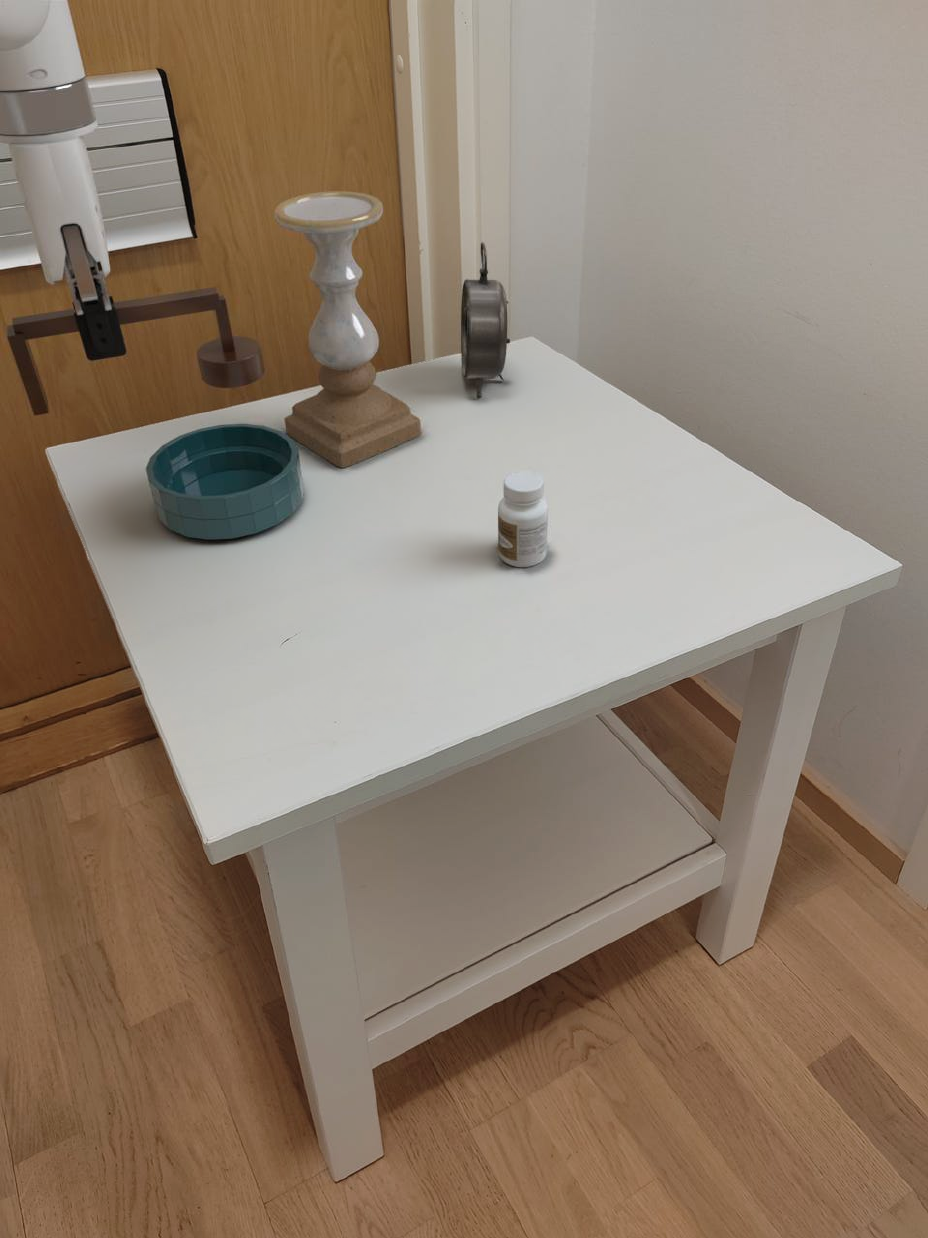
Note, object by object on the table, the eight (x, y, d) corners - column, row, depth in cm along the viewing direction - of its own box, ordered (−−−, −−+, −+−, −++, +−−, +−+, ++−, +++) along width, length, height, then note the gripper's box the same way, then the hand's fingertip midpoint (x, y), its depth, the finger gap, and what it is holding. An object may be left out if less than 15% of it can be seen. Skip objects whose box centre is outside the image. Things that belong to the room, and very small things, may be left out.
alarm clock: (460, 363, 118) (456, 228, 108) (503, 361, 118) (504, 226, 108) (465, 404, 110) (462, 261, 99) (512, 401, 110) (513, 259, 99)
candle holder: (363, 401, 111) (342, 182, 96) (423, 434, 104) (410, 205, 89) (284, 432, 105) (247, 206, 90) (341, 469, 99) (312, 232, 84)
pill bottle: (491, 545, 88) (490, 472, 83) (536, 536, 89) (538, 463, 84) (507, 572, 84) (507, 498, 79) (553, 563, 85) (557, 488, 80)
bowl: (168, 558, 87) (156, 512, 84) (150, 483, 98) (138, 439, 94) (319, 524, 91) (312, 479, 88) (286, 455, 101) (279, 413, 98)
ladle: (258, 356, 89) (243, 273, 84) (270, 381, 85) (256, 295, 80) (33, 395, 83) (3, 309, 79) (34, 424, 79) (4, 335, 74)
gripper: (-15, 94, 74) (56, 324, 85) (-18, 140, 62) (64, 398, 74) (85, 84, 76) (141, 311, 87) (100, 127, 64) (162, 381, 76)
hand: (106, 349), depth 81 cm, fingers closed on ladle
